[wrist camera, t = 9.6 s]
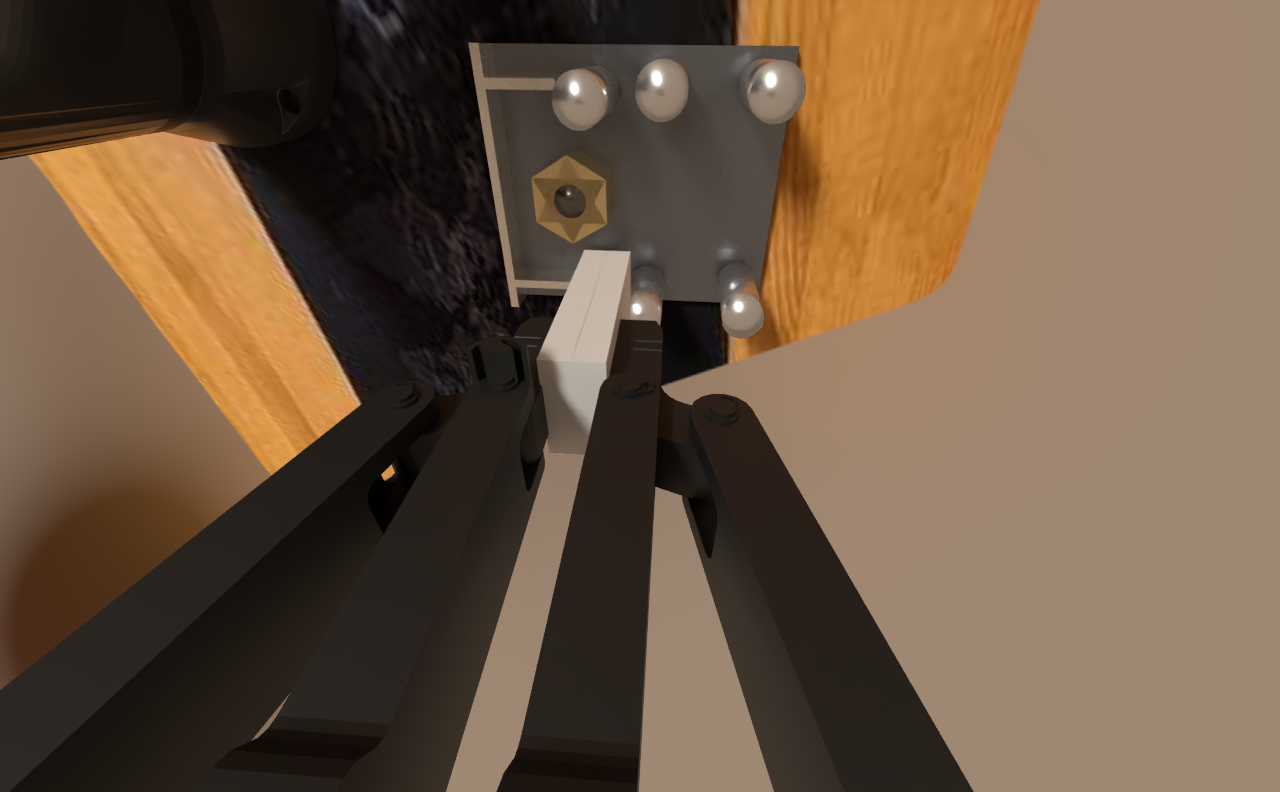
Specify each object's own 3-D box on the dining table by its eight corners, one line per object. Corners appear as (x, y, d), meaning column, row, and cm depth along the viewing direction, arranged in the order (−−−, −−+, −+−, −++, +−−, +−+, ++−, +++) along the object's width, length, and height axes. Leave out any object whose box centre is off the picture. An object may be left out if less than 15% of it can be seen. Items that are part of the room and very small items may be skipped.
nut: (548, 229, 37) (538, 242, 34) (540, 146, 33) (528, 154, 31) (612, 232, 36) (607, 245, 34) (610, 148, 33) (604, 155, 31)
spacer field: (519, 289, 41) (489, 333, 35) (482, 43, 31) (430, 41, 25) (755, 299, 40) (768, 347, 33) (797, 46, 30) (826, 45, 23)
